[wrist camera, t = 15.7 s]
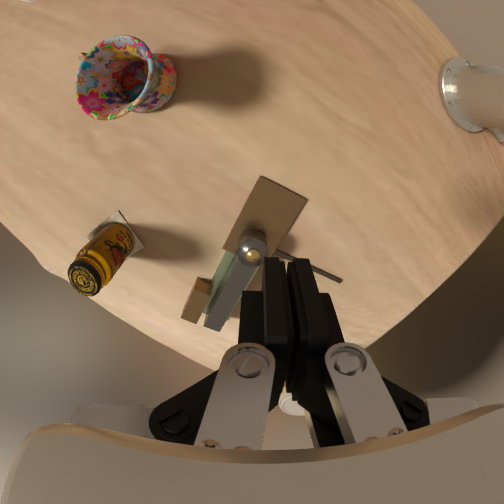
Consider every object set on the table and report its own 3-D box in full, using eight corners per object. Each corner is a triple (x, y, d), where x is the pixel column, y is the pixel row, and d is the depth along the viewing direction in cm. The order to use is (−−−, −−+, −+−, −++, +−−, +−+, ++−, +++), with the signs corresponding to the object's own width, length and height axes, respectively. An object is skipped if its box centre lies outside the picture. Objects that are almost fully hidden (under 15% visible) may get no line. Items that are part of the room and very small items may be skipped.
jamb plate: (372, 237, 39) (373, 238, 38) (330, 294, 44) (330, 295, 44) (260, 175, 35) (260, 176, 34) (222, 247, 40) (222, 248, 40)
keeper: (262, 262, 41) (262, 273, 38) (225, 321, 47) (223, 334, 45) (214, 241, 40) (211, 251, 37) (184, 305, 46) (180, 317, 43)
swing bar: (246, 225, 38) (245, 237, 34) (272, 237, 38) (273, 250, 35) (203, 312, 45) (199, 326, 42) (224, 320, 46) (222, 335, 43)
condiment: (145, 246, 40) (113, 292, 30) (112, 267, 42) (80, 312, 32) (118, 209, 37) (76, 246, 27) (87, 235, 39) (47, 274, 29)
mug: (196, 72, 28) (172, 57, 19) (154, 128, 32) (117, 136, 22) (131, 35, 24) (92, 16, 15) (95, 88, 28) (49, 88, 19)
